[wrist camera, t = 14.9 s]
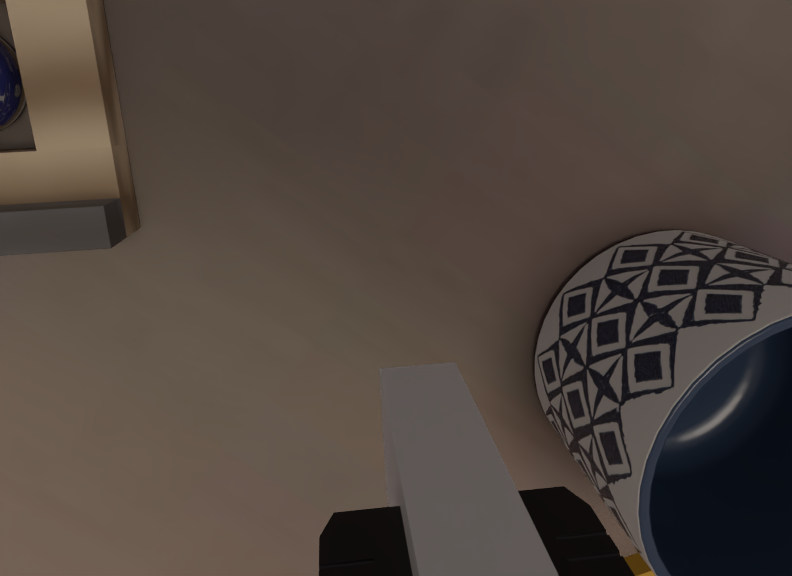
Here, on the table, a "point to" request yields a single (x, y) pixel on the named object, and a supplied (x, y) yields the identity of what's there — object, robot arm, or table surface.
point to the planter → (680, 398)
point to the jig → (66, 135)
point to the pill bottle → (10, 86)
